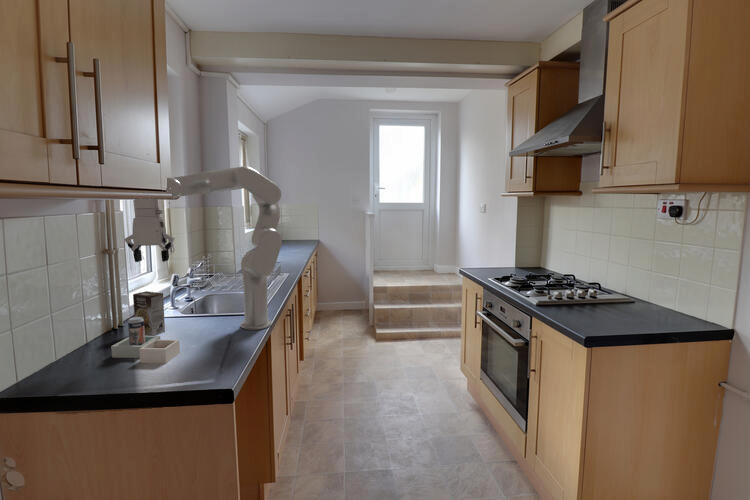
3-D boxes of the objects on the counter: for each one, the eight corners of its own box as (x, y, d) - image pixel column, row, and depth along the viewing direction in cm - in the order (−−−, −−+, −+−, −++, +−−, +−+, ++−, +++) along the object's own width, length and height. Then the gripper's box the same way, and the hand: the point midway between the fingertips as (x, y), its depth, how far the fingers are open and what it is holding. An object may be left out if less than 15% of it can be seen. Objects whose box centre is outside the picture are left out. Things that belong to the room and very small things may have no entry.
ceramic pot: (155, 354, 133) (154, 339, 132) (179, 355, 133) (179, 339, 132) (140, 365, 125) (139, 348, 124) (166, 365, 125) (165, 349, 124)
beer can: (127, 355, 131) (125, 320, 130) (132, 350, 136) (129, 316, 134) (143, 353, 132) (141, 319, 131) (147, 348, 137) (145, 315, 135)
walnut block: (156, 356, 130) (155, 346, 130) (167, 355, 131) (167, 345, 130) (153, 360, 127) (152, 350, 126) (165, 359, 127) (164, 349, 127)
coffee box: (134, 334, 153) (131, 294, 151) (148, 329, 159) (146, 290, 157) (152, 336, 150) (149, 296, 148) (166, 331, 157) (163, 292, 154)
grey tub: (132, 347, 139) (131, 335, 139) (160, 348, 139) (160, 335, 138) (112, 359, 129) (111, 346, 128) (143, 360, 129) (142, 346, 128)
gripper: (176, 212, 141) (181, 259, 143) (129, 213, 141) (134, 259, 143) (166, 213, 134) (170, 262, 136) (115, 214, 134) (121, 263, 136)
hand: (152, 261), depth 140 cm, fingers open, 9 cm apart
